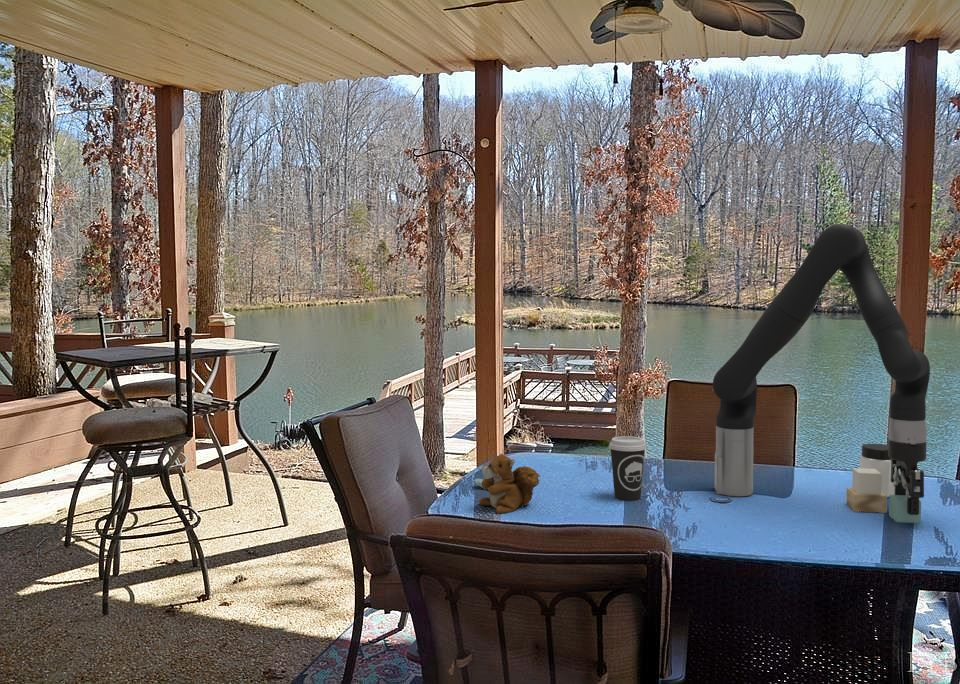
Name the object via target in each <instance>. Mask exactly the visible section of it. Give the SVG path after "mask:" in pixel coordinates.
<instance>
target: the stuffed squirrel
mask: <svg viewBox="0 0 960 684" xmlns="http://www.w3.org/2000/svg"><path fill="white" fill-rule="evenodd" d="M515 463H516V460H515V459H511V458H510V457H509V456H507V455H505V454H504V453H500V454H498V455H496V456H495V457H494V458H493V459H492V460H491V461H490V462H489V463H488V465H487V467H488V468H486V469H485V470H488V469H489V472H490V473H491V474H492V477H491V478H489V479H484V478H483V481H482V483H481V484H482V487H483V488H484V489H483V490H487V489H488V488H489V489H488V494H489V497H485V496H484V497H481V498H480V499H479V500H478V503H479V505H480V506H485V507H489V506H490V507H493V508H494V509H495V511H496V514H497V515H498V514H499V515H503V514H506V513H507V514H508V513H512V512H515V511H516V510H517V509H518V508H520V507H524V506H526V505H528V504H529V503H530V502H531V501H532V499H533V494H534V492H533V490H534V488H535V487H536V488H537V486H538V485H539V483H540V481H541V480H540V479H539V478H540V477H541V476H542V475H541V474H539V473H538V472H537V471H536V470H535V468H532V467H530V466H526V465H523V466H518V467H516V468H515V469H514V470H512V469H513V467H514V464H515ZM486 473H487V471H486ZM482 487H481V488H482Z"/></svg>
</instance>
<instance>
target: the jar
mask: <svg viewBox="0 0 960 684" xmlns="http://www.w3.org/2000/svg"><path fill="white" fill-rule="evenodd" d="M859 468H861V469H876V470H877V471H878V472H880V473H881V474H882V478H881V492H883V493H884V494H885V495H886V496H887V498H890V495H895V487H894V486H893V483H891V458H889V456H888V444H884V443H883V444H882V443H865V444H864V443H863V444H862V445H861V454H860V455H859Z"/></svg>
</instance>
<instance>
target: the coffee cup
mask: <svg viewBox="0 0 960 684" xmlns="http://www.w3.org/2000/svg"><path fill="white" fill-rule="evenodd" d="M644 440H645V439H644V438H642V437H638V436H633V435H632V436H631V435H623V436H614V437H612V438H611V441H610V442H609V443H608V449H610V457H611V460H610V461H611V469H612V479H613V480H612V481H613V492H614V493H613V494H614V498H615V499H617V500H619V501H624V502H625V501H627V502H631V501H634V502H635V501H637V500H638V501H639V500H640V499H641V497H642V485H643V475H644V463H645V454H646V450H647V447H648V446H647V444H646V443H645V441H644Z"/></svg>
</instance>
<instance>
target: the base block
mask: <svg viewBox="0 0 960 684" xmlns="http://www.w3.org/2000/svg"><path fill="white" fill-rule="evenodd" d="M845 498H846V505H847V506H848V507H849V508H850V509H851V510H852V511H853V512H855V513H875V512H879V513H881V514H887V513H888V512H887V511H888V510H887V509H888V508H887V507H888V505H887V504H888V502H887V501H888V497H887V496H886V495H885V494H884V493H883V492H881V495H872V494H858V493H857V492H855V491H854V490H853V489H852V486H851V487H849V486H848V487H847V486H846V497H845ZM859 511H860V512H859ZM861 511H862V512H861ZM863 511H864V512H863ZM879 513H878V514H879Z"/></svg>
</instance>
